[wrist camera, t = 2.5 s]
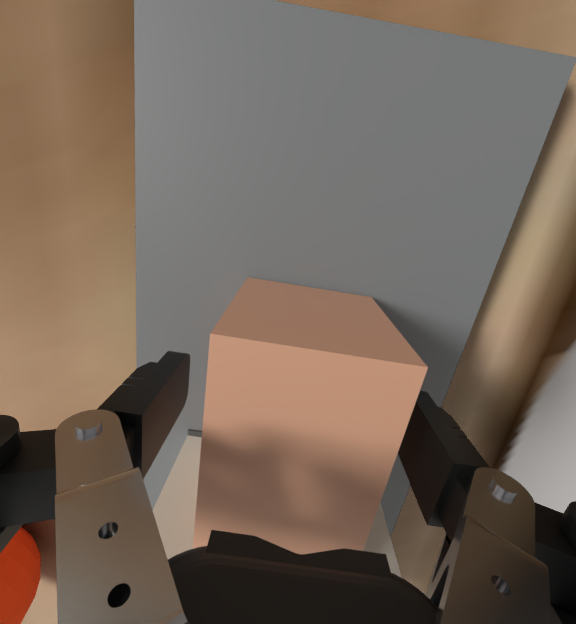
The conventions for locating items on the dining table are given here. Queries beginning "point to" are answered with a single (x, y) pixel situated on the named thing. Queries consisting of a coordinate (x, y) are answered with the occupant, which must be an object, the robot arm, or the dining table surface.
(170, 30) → the grey tray
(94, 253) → the dining table surface
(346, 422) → the stub
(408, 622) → the robot arm
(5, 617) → the clementine
